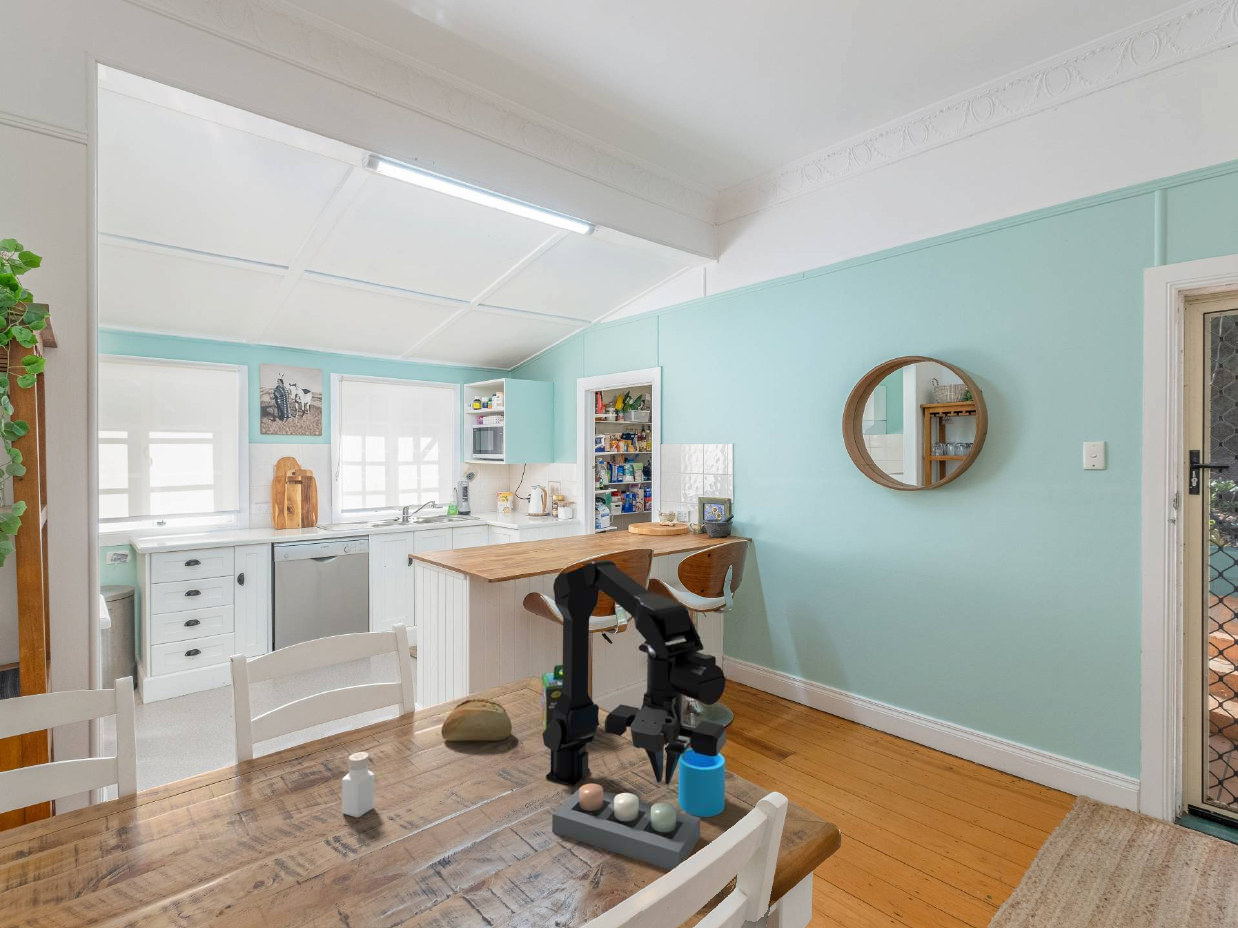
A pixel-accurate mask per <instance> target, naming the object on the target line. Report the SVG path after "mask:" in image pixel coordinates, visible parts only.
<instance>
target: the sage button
mask: <svg viewBox="0 0 1238 928" xmlns="http://www.w3.org/2000/svg"><path fill="white" fill-rule="evenodd" d="M652 805H653V806H652V807H651V827H652V828H653V829H654V830H656V831H659V832H670V831H672V830H674V829H675V827H676V811H677V809H676V807H675V806H674V805H673V804H671V803H667V802H657V803H655V804H652Z"/></svg>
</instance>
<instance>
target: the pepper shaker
mask: <svg viewBox="0 0 1238 928" xmlns="http://www.w3.org/2000/svg"><path fill="white" fill-rule="evenodd" d="M369 764H370V763H369V753H368V752H366V751H359V752H355V753H352V754H351V755H349V756H348V773H347V774H346V775H345V776H344V777H343V778H342V780H341V783H342V784H341V811H342V814H345V815H348V816H351V817H354V818H360V817H362V816H363V815H364V814H366V813H368V812H370V811H371V810H373V808H374V807H375V782H376V781H375V777H376V776H375V773H374V772H373V771H371V770H369V766H370V765H369Z"/></svg>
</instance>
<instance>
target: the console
mask: <svg viewBox="0 0 1238 928" xmlns="http://www.w3.org/2000/svg"><path fill="white" fill-rule="evenodd" d="M582 786H583V785H581V786H580V787H582ZM579 789H580V788H578V789H577V790H576V791H575V792H574V793H572V795H571V796H569V798H567V799H566V801H564V802H563V804H561V805H560V806H559V807H558V808H557V809H555V811H554V812H552V814H551V815H552V819H551V820H552V821H551V823H552V827H551V830H552V831H551V832H552V833H554V834H557V835H561V836H563V837H566V838H569V839H573V840H576V841H580V842H582V843H585V844H589V845H591V846H594V847H597V848H601V849H604V850H607V851H609V852H614V853H616V854H619V855H623V856H626V857H629V858H632V859H635V860H638V861H641V862H645V863H647V864H651V865H654V866H657V867H660V868H664V869H666V870H669V871H672V869H673V868H675V867H676V866H678V865H679V864H680V863H682V862H683V861H685V859H686V860H688V858H689V855H690V854H691V852H692V851H693V849H694V847H695V846H696V844H697V843H698V841H699V839H700V838H701V817H699V816H695V815H691V814H689V813H685V812H680V811H677V810H676V827H675V829H674V830H672V831H670V832H659V831H656V830H654V829H653V828H652V827H651V807H652V806H653V805H654V804H651V803H648V802H644V801H641V800H640V801H639V812H638V817H637V818H636V819H635V820H632V821H621V820H619V819H617V818H616V817H615V816H614V798H615V796H617V795H618V794H615V793H611V792H608V791H607V792H606V791H604V790H603V806H602V807H601V808H600V809H598V810H594V811H588V810H584V809H582V808H581V807H580V806H579ZM685 862H686V861H685Z"/></svg>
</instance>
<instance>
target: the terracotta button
mask: <svg viewBox="0 0 1238 928" xmlns="http://www.w3.org/2000/svg"><path fill="white" fill-rule="evenodd" d="M581 786H582V787H581ZM581 786H580V789H579V788H578V789H579V806H580V807H581V808H582V809H584V810H588V811H594V810H598V809H600V808H601V807H602V806H603V791H604V787H603V786H602V785H600V784H597V783H587V784H583V785H581Z"/></svg>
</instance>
